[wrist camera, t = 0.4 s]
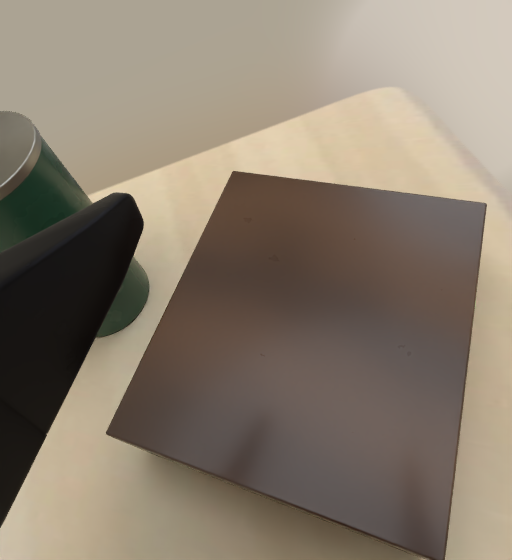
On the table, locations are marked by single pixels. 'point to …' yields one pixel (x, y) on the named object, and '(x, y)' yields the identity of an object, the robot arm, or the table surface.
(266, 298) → the shelf
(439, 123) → the table surface
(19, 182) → the tea tin
